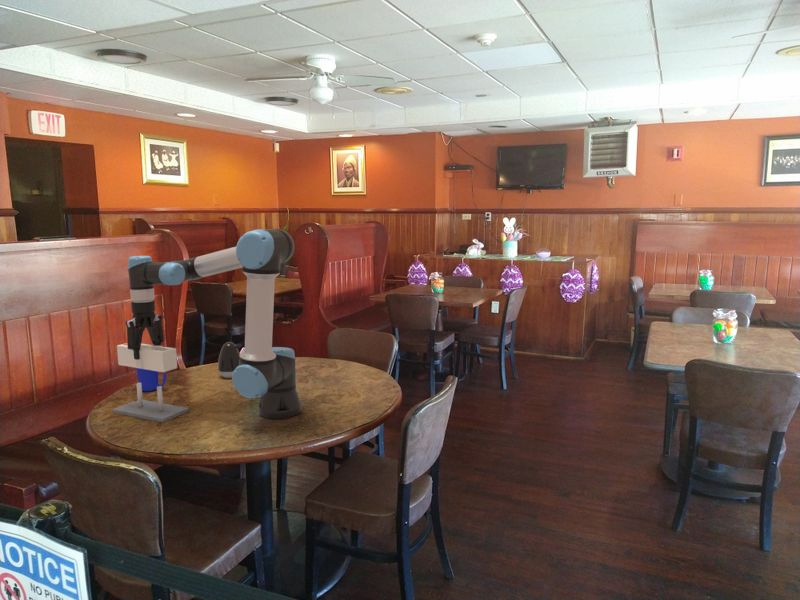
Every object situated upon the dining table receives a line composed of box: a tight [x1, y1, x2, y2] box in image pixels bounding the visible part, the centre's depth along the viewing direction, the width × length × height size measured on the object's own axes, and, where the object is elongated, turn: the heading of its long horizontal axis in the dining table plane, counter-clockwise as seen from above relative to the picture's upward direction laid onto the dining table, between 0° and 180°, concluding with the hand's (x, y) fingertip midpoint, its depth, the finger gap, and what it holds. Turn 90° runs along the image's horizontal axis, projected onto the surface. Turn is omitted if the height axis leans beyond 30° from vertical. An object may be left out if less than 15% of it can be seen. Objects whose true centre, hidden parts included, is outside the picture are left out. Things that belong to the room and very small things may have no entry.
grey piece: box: [112, 382, 190, 423], centre depth 202 cm, size 24×12×10 cm, turn 65°
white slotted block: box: [116, 342, 178, 373], centre depth 200 cm, size 22×6×7 cm, turn 65°
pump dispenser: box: [217, 341, 242, 379], centre depth 245 cm, size 10×10×15 cm
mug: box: [135, 368, 167, 392], centre depth 228 cm, size 8×12×10 cm
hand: (147, 365), depth 201 cm, fingers closed on white slotted block, 6 cm apart
